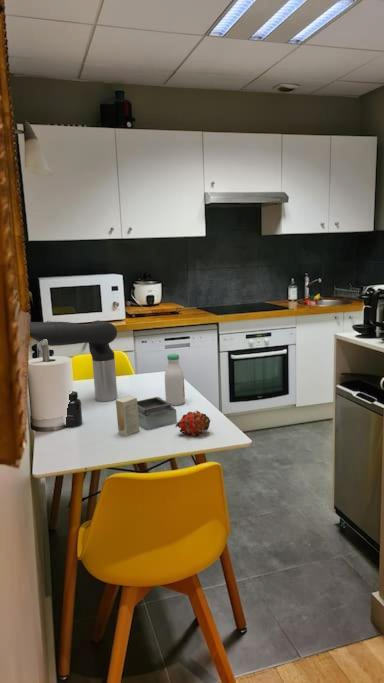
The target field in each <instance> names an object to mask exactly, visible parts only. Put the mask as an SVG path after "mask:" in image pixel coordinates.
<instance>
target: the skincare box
mask: <svg viewBox="0 0 384 683" xmlns="http://www.w3.org/2000/svg"><path fill="white" fill-rule="evenodd" d="M137 401H138V398H137V397H135V396H132V395H127V396H124V397H121V398H117V399H115V408H116V418H117V419H116V420H117V430H118V434H119V435H122V436H124V437H128V436H129V435H133V434H135V433H137V432H140V425H139V418H138V406H137Z"/></svg>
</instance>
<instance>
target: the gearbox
mask: <svg viewBox="0 0 384 683" xmlns="http://www.w3.org/2000/svg"><path fill="white" fill-rule="evenodd" d="M137 406H138V418H139V427H141V428H143V429H144V430H146V431H150V430H153V429H157V428H161V427H164V426H165V427H166V426H169V425H172V424H177V423H178V422H177V421H178V420H177V418H178V417H177V409H176V408H175V407H174V406H172V405H171V404H170V403H168V402H166V400H164V399H162V398H160V397H158V396H155V397H151V398H144V399H141V400H137Z"/></svg>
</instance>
